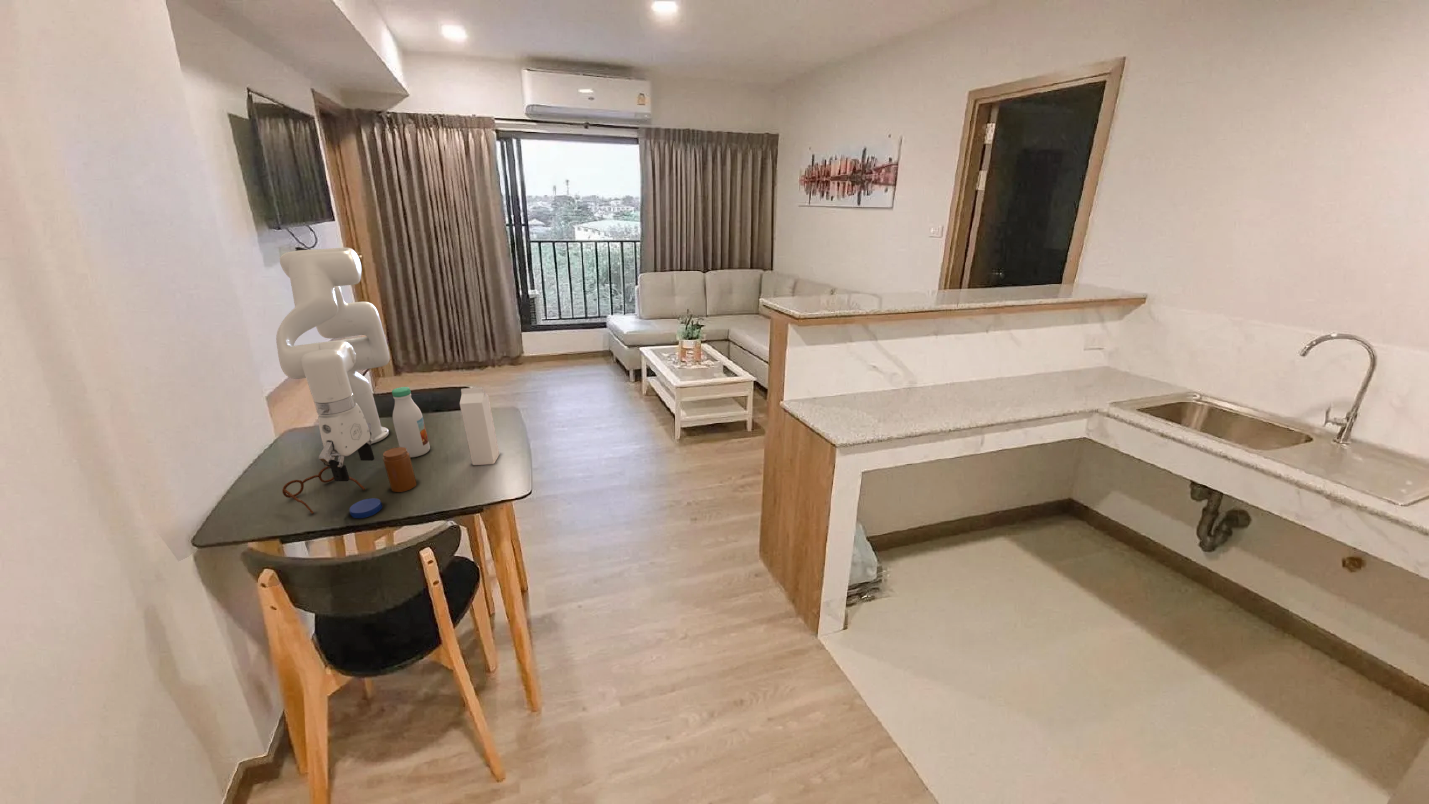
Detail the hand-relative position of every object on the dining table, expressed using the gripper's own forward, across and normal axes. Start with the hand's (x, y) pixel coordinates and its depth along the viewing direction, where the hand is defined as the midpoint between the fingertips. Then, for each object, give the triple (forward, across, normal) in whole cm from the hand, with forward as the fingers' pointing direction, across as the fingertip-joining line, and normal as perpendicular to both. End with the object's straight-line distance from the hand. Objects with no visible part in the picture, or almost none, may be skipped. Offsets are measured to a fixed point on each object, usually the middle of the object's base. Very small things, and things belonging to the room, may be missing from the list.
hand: (355, 470), depth 132 cm
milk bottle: (+12, +30, +4) cm, 33 cm away
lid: (+10, -1, 0) cm, 10 cm away
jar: (+11, +11, -3) cm, 16 cm away
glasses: (+11, +6, +14) cm, 19 cm away
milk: (+11, +25, -20) cm, 34 cm away
